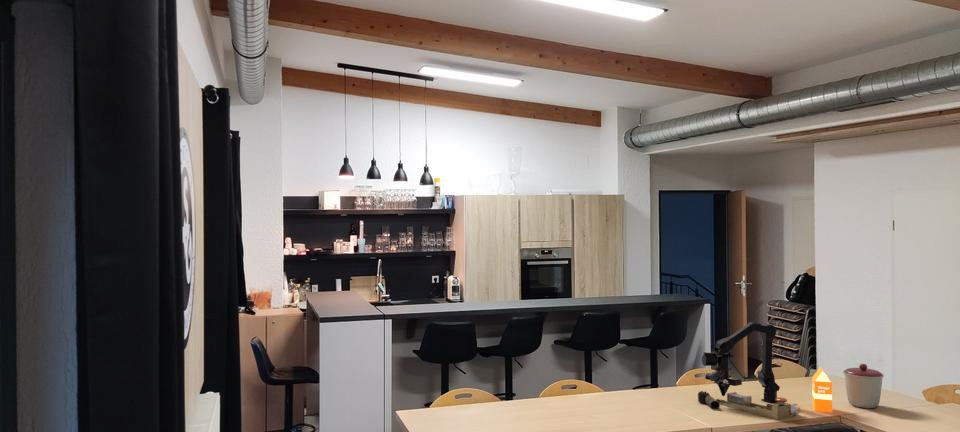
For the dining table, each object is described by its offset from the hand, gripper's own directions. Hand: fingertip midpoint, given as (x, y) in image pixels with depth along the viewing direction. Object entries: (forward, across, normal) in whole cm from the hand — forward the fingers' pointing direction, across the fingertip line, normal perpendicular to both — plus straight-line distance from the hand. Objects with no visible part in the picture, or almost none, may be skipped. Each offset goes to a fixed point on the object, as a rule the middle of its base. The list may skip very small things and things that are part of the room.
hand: (723, 395), depth 349 cm
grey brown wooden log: (+4, -1, -11) cm, 11 cm away
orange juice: (+3, +35, +30) cm, 46 cm away
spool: (+3, +10, 0) cm, 10 cm away
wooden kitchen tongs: (+3, +18, +3) cm, 18 cm away
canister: (+3, +42, +54) cm, 68 cm away
